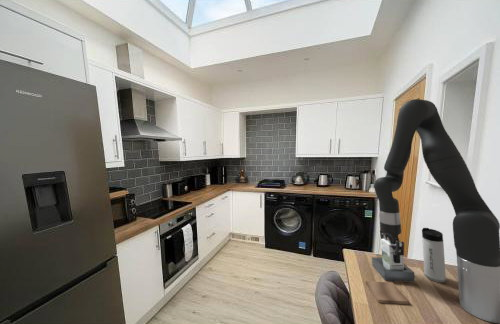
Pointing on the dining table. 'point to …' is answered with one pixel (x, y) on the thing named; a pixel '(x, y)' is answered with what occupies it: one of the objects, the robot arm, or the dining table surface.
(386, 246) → the syrup box
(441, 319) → the dining table surface
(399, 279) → the frame
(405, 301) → the walnut board
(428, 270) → the travel mug
